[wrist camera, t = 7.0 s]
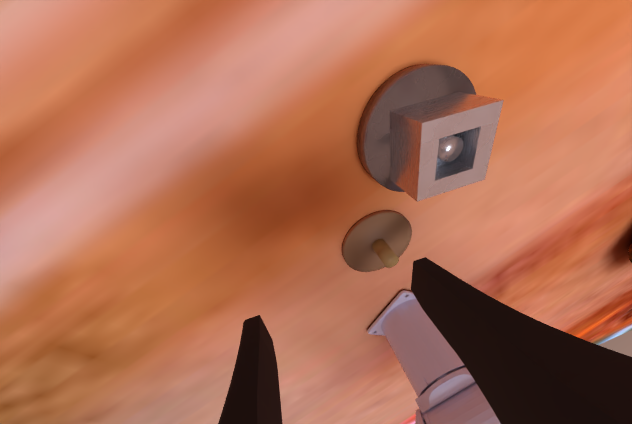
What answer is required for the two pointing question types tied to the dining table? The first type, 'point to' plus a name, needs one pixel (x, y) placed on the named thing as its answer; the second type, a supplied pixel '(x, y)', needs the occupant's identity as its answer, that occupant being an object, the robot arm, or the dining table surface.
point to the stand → (377, 241)
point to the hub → (399, 93)
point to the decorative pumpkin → (631, 250)
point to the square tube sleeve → (423, 140)
